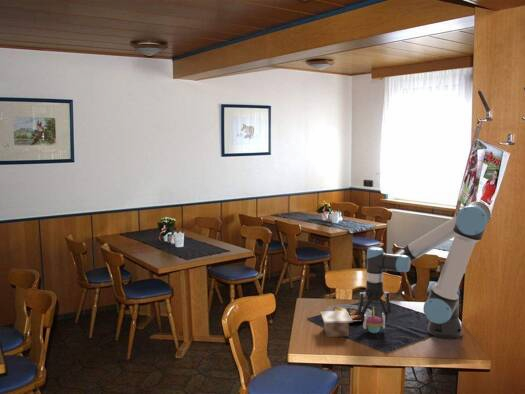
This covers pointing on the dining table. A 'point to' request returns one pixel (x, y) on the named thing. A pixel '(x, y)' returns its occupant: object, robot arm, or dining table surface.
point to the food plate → (352, 311)
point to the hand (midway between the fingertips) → (374, 327)
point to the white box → (336, 323)
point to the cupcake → (374, 323)
